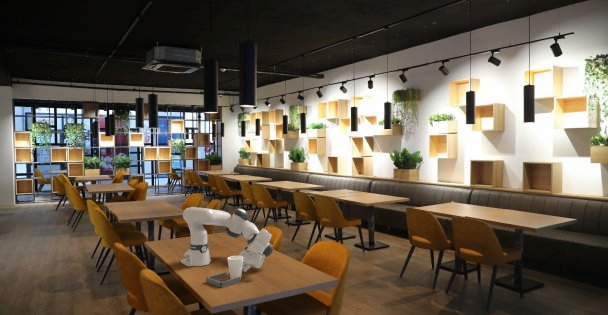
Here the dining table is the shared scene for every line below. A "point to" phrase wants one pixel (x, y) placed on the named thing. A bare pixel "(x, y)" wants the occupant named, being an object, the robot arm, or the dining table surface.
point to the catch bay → (214, 282)
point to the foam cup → (235, 266)
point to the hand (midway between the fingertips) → (243, 270)
